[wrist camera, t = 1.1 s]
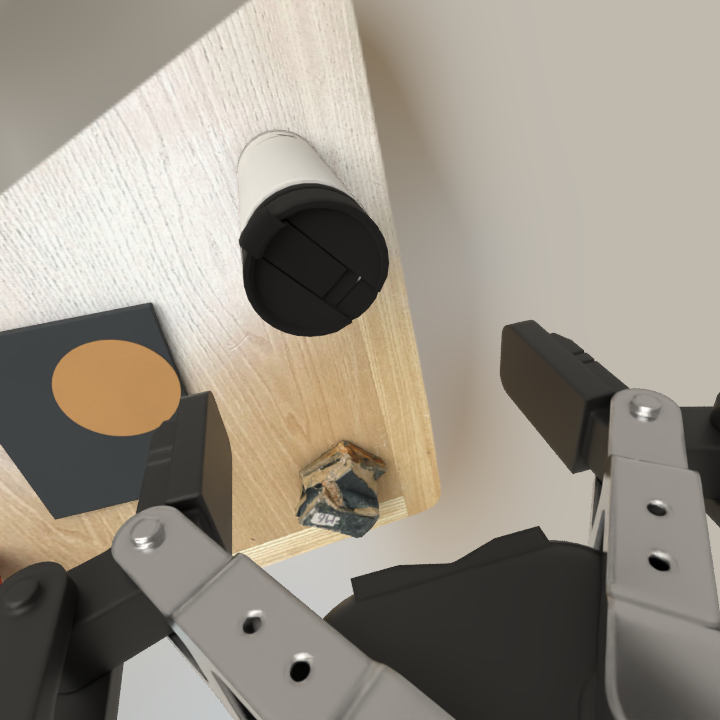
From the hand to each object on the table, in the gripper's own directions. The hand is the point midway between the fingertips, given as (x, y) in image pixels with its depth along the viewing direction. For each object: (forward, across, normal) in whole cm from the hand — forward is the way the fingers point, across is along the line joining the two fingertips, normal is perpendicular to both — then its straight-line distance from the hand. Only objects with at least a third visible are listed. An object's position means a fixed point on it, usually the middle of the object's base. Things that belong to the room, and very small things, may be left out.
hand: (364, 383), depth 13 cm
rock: (+28, 0, +32) cm, 42 cm away
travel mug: (+28, 0, 0) cm, 28 cm away
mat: (+28, +20, +18) cm, 39 cm away
